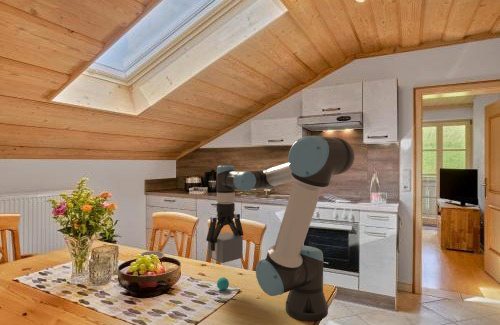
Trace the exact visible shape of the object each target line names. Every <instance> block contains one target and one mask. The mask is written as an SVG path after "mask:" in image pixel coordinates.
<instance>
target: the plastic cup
mask: <svg viewBox="0 0 500 325" xmlns="http://www.w3.org/2000/svg"><path fill="white" fill-rule="evenodd" d="M151 254H154V255H157V256H158V257H159V260H160V262H161V265H162V264H163V263H162V262H163V259H164V257H165V255H166V254H165V253H164V252H162V251H158V250H150V251H149V250H148V251H144V252H141V253H140V254H139V257H140V256H144V255H151Z"/></svg>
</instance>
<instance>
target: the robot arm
mask: <svg viewBox="0 0 500 325" xmlns="http://www.w3.org/2000/svg"><path fill="white" fill-rule="evenodd" d="M287 156H288V157H287V162H284V163H282V164H278V165H275V166H272V167H269V168H266V169H263V170H236V169H235V168H236V167H235V165H217V167H216V175H215V176H216V202H217V203H216V216H210V223H209V226H208V231H207V235H206V239H205V241H206V242H210V243H211V250H212V258H214V259H217V243H216V240H217V238H218V236H219V234H221V231H222V229H224V226H227V225H228V226H229V228H230V229H231V231H232V232H231V233H232V234H235V235H238V236H242V237H243V236H244V230H243V226H242V223H241V214H239V213H236V211H235V210H236V209H235V206H236V204H235V201H236V198H235V197H236V195H235V192H236V191H242V192H245V191H246V192H247V191H251V190H258V189H261V190H263V189H274V188H276V187H277V186H279V185H283V184H288V183H292V182H293V184H292V186H291V191H290V194H289V197H288V200H287V204H286V207H285V210H284V214H283V217H282V221H281V223H280V227H279V230H278V233H277V236H276V240H275V244H274V245H272V246H270V247H269V248H268V250H267V254H266V257H265V259H261V260H259V261H258V262H257V263H256V265H255V276H256V277H255V278H256V280H257V283H258V285H259V286H260V289H261V290H262V291H263V292H264V293H265V294H266V295H268V296H271V297H276V296H281V295H283V294H286V293H288V295H287V298H286V300H285V312H286V313H287V314H288V315H289V316H290V317H291V318H294V319H296V320H299V321H306V322H316V321H320V320H323V319H325V318H327V317H328V314H329V306H328V303H327V300H326V296H325V293H324V253H323V251H322V250H321V249H320V248H317V247H314V246H310V245H304V243H305V241H306V238H307V234H308V232H309V228H310V226H311V223H312V220H313V217H314V213H315V210H316V208H317V205H318V202H319V201H318V200H319V198H320V197H321V196H320V195H321V193H322V190H324V189H326V188H328V187H329V185H330V182H331V180H332V176H336V175H343V174H344V173H346V172H348V171H349V170H350V169H351V168H352V167H353V164H354V161H355V156H356V154H355V150H354V148H353V146H352V145H351V144H350V143H349V142H348V141H347V140H345V139H343V138H341V137H330V136H329V137H328V136H321V135H317V134H316V135H305V136H302V137H300V138H298V139H297V140H295V142H294V143H293V144H292V146H291V147H290V148H289V152H288V155H287ZM235 190H236V191H235ZM212 258H211V259H212ZM214 259H213V260H214Z"/></svg>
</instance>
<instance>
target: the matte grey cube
mask: <svg viewBox="0 0 500 325" xmlns="http://www.w3.org/2000/svg"><path fill="white" fill-rule="evenodd" d="M243 239H244V237H243V236H238V235H235V234H233V232H223V233H220V234H219V236H218V238H217V240H216V243H217V259H214V258H212V250H211V243H210V242H208V241H207V242H208V243H207V248H208V250H207V255H208V256H207V257H208V258H209V259H212V260H214V261H216V262H219V263H221V264H225V263H228V262H232V261H236V260H240V259H243V257H244V256H243V251H244V250H243V248H244V247H243V245H244V244H243V241H244V240H243Z"/></svg>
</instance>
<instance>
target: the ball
mask: <svg viewBox="0 0 500 325" xmlns="http://www.w3.org/2000/svg"><path fill="white" fill-rule="evenodd" d="M229 286H230V282H229V280H228V278H226V277H225V276H224V277H219V279H218V280H217V282H216V287H217V289H219V290H220V291H225V290H227V289H228V288H229Z"/></svg>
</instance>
